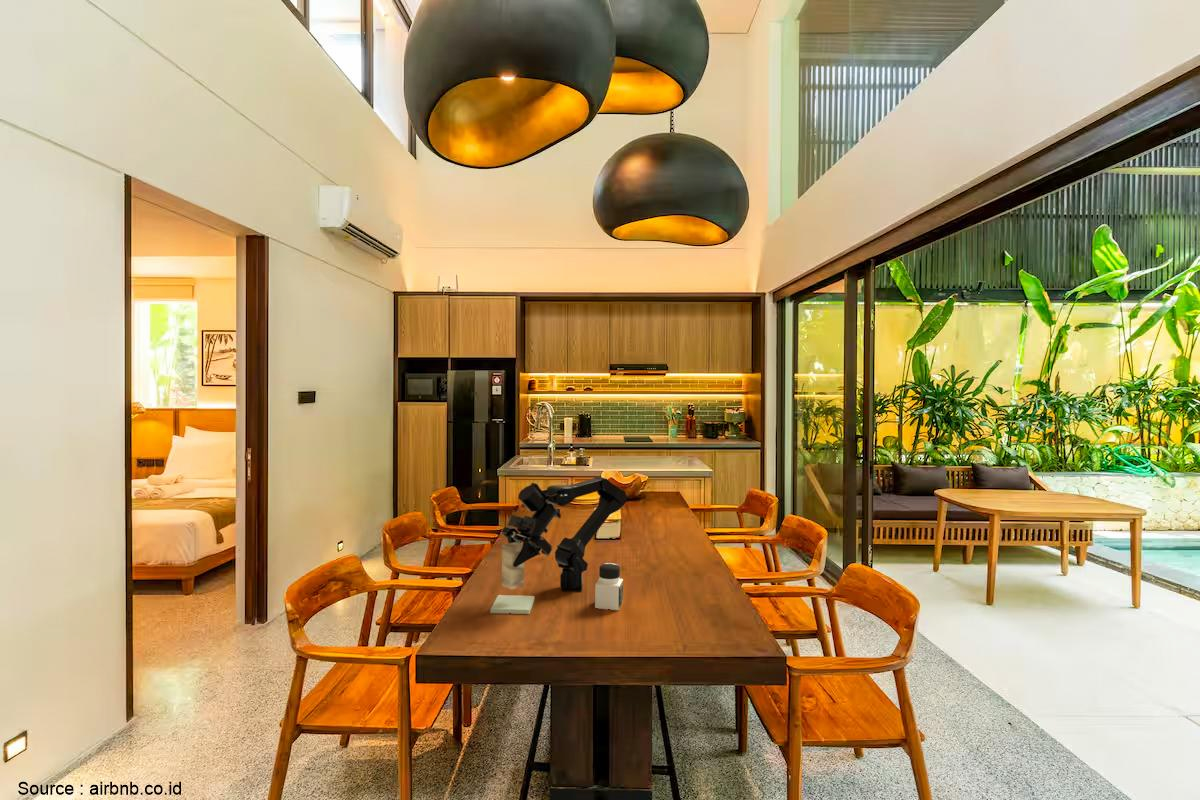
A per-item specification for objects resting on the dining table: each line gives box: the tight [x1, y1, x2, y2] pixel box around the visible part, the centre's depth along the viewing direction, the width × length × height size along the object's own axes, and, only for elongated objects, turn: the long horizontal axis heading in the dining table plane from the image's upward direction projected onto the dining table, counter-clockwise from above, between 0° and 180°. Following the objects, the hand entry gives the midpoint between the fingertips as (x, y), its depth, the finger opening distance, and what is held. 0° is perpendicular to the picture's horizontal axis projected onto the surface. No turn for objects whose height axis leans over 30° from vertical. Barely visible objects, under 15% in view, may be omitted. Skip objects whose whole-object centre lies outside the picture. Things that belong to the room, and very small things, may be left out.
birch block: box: [501, 542, 525, 591], centre depth 169 cm, size 5×5×12 cm
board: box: [489, 594, 536, 615], centre depth 169 cm, size 11×11×1 cm
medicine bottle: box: [594, 562, 624, 611], centre depth 170 cm, size 7×7×12 cm
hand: (509, 564), depth 168 cm, fingers closed on birch block, 5 cm apart
